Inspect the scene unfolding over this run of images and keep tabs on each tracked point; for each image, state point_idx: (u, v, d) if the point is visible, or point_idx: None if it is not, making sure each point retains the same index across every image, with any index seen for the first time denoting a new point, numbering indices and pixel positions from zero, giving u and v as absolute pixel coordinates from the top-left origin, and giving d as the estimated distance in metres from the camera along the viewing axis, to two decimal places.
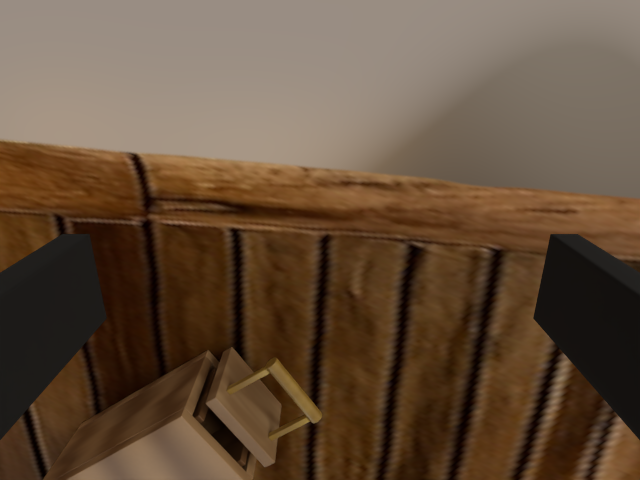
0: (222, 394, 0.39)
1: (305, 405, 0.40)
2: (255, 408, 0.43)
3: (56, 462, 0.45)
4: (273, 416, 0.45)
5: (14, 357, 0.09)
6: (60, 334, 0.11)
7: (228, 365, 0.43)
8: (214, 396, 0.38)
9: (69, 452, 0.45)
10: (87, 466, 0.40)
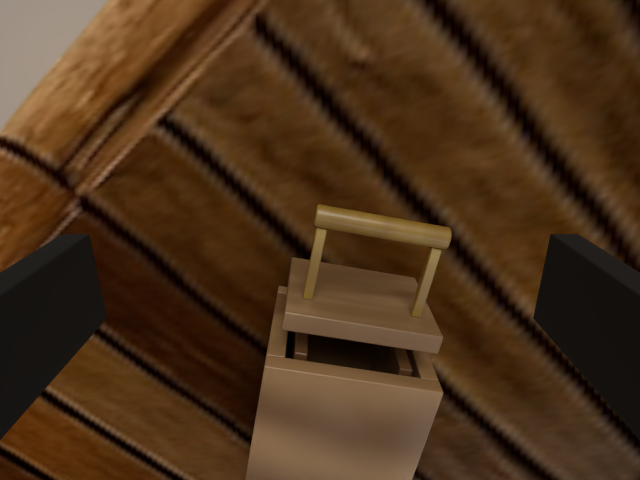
0: (297, 304, 0.25)
1: (412, 232, 0.24)
2: (369, 296, 0.27)
3: None
4: (407, 293, 0.29)
5: (14, 357, 0.09)
6: (60, 334, 0.11)
7: (294, 274, 0.28)
8: (284, 312, 0.24)
9: None
10: None
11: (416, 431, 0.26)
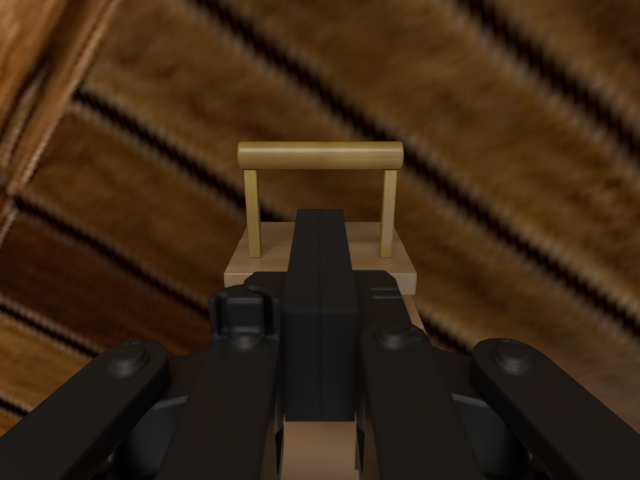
0: (240, 264, 0.21)
1: (354, 153, 0.20)
2: None
3: None
4: (380, 236, 0.25)
5: None
6: None
7: (246, 237, 0.25)
8: None
9: None
10: None
11: None
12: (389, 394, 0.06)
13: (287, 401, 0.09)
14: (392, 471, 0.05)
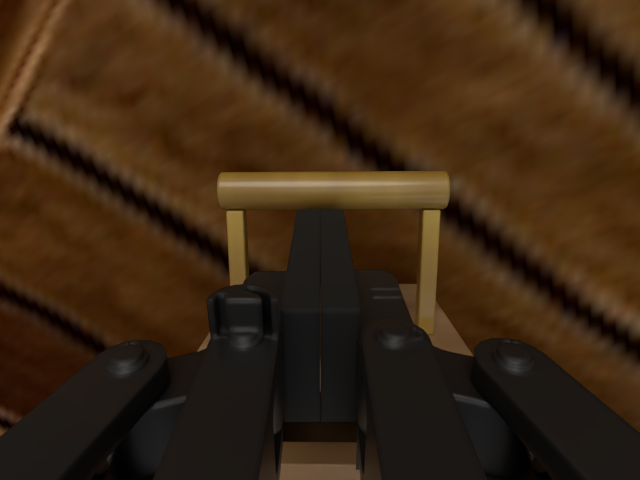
0: None
1: (380, 186, 0.14)
2: None
3: None
4: (412, 303, 0.19)
5: None
6: (319, 289, 0.13)
7: None
8: None
9: None
10: None
11: None
12: (390, 394, 0.06)
13: (286, 401, 0.09)
14: (393, 471, 0.05)
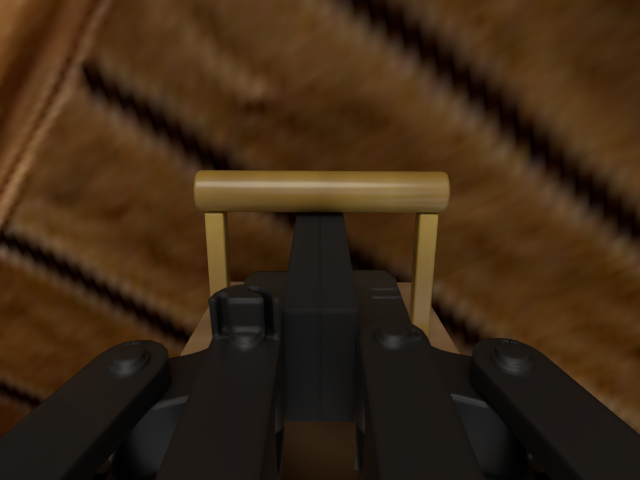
0: None
1: (374, 189, 0.13)
2: None
3: None
4: None
5: None
6: None
7: None
8: None
9: None
10: None
11: None
12: (388, 394, 0.06)
13: (287, 401, 0.09)
14: (391, 471, 0.05)
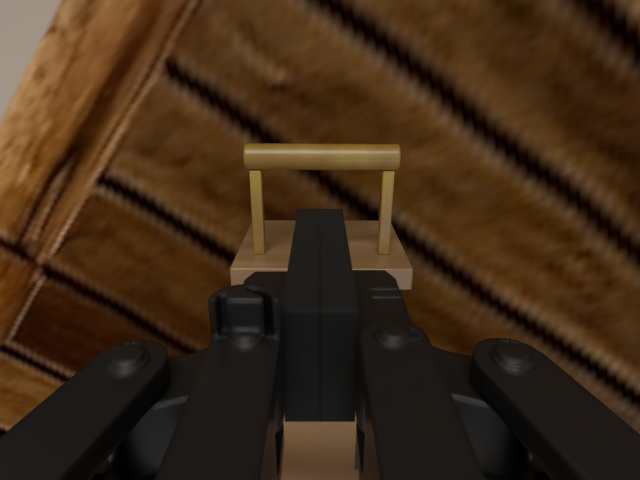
0: (245, 260, 0.22)
1: (354, 155, 0.21)
2: None
3: None
4: None
5: None
6: None
7: (250, 234, 0.26)
8: None
9: None
10: None
11: None
12: (389, 394, 0.06)
13: (287, 401, 0.09)
14: (392, 471, 0.05)
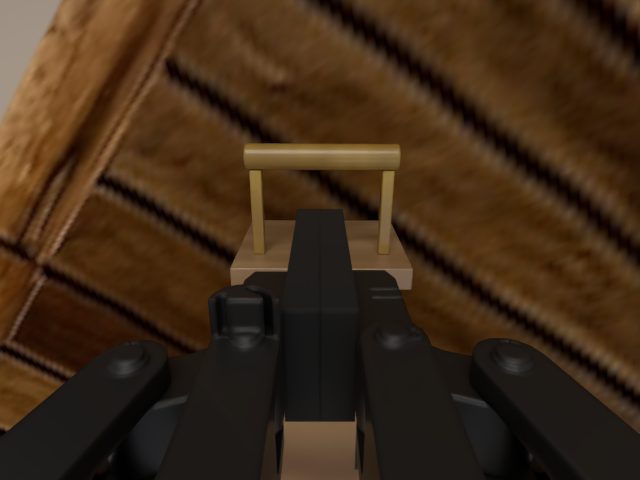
0: (245, 260, 0.22)
1: (354, 155, 0.21)
2: None
3: None
4: (378, 234, 0.26)
5: None
6: None
7: (250, 234, 0.26)
8: None
9: None
10: None
11: None
12: (389, 394, 0.06)
13: (287, 401, 0.09)
14: (392, 471, 0.05)
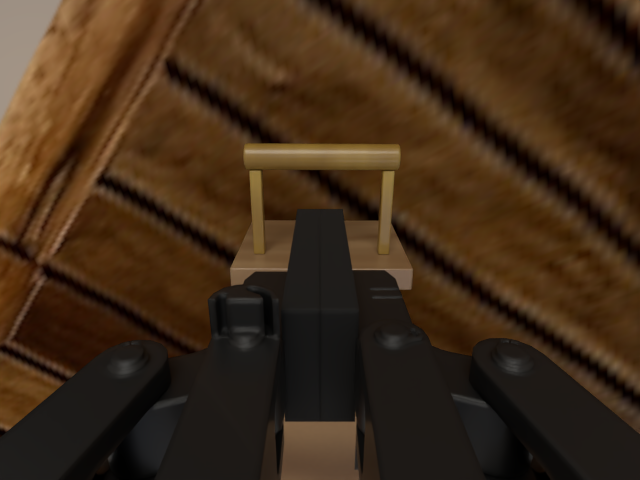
0: (245, 260, 0.22)
1: (354, 155, 0.21)
2: None
3: None
4: None
5: None
6: None
7: (250, 234, 0.26)
8: None
9: None
10: None
11: None
12: (389, 394, 0.06)
13: (287, 401, 0.09)
14: (392, 471, 0.05)
